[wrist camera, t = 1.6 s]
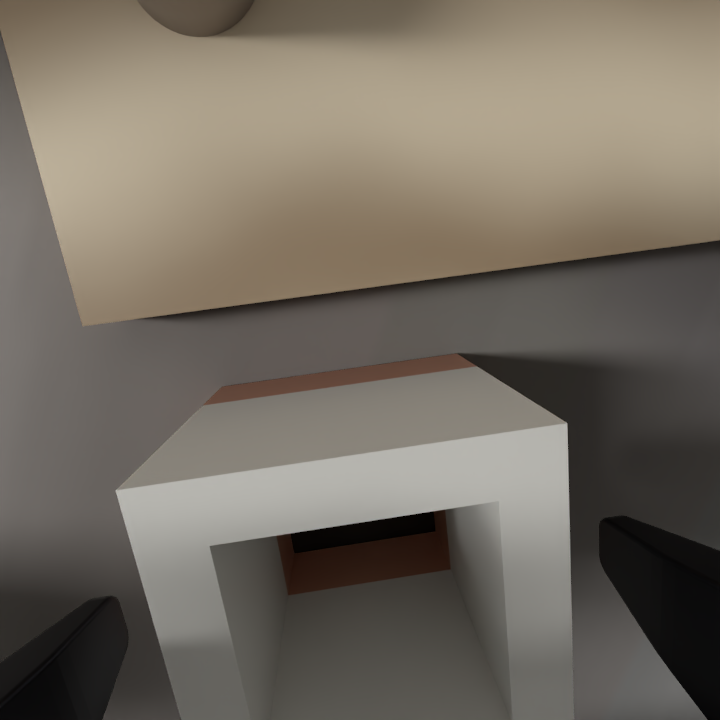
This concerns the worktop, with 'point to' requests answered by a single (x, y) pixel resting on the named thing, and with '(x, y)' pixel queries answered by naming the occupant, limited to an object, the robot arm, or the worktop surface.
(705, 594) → the robot arm
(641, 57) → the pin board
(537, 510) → the sleeve
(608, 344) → the worktop surface
